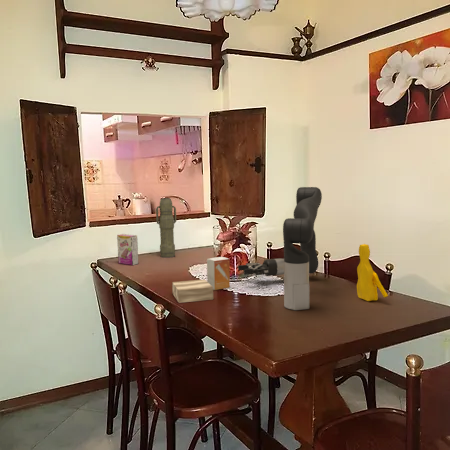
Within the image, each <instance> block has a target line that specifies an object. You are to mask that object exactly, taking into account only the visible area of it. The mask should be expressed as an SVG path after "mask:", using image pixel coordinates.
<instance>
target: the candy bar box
mask: <svg viewBox="0 0 450 450" xmlns="http://www.w3.org/2000/svg"><path fill="white" fill-rule="evenodd" d="M116 239H117V242H116V243H117V257H118V258H117V259H118V264H120V265H121V264H122V265H128V266H136V265H139V247H138V246H139V245H138V244H139V243H138V235H137V234H129V233H128V234H126V233H121V234H117V236H116Z"/></svg>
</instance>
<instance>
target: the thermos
mask: <svg viewBox="0 0 450 450" xmlns="http://www.w3.org/2000/svg"><path fill="white" fill-rule="evenodd" d="M155 214H156V215H155V216H156V217H155V218H156V224H157V225H159V227H158V228H159V230H160V231H159V232H160V245H159V253H160V258H163V259H164V258H165V259H167V258H174V257H176V244H175V238H174V236H175V235H174V234H175V232H174V228H175V224H176V223H177V208H176V206H175V205H173V201H172V198H169V197H162V198H160V200H159V205H158V206H156V208H155Z"/></svg>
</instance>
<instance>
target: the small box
mask: <svg viewBox="0 0 450 450" xmlns="http://www.w3.org/2000/svg"><path fill="white" fill-rule="evenodd" d="M230 267H231V266H230V258H228V257H225V256H218V257H217V256H216V257H211V258H206V274H207V276H206V281H207V282H208V283H209V284H210V285H211V286H212V287H213V291H216V290H223V289H229V287H230V285H231V283H230V281H231V280H230V279H231V278H230V277H231V276H230V272H231V271H230ZM230 288H231V287H230Z"/></svg>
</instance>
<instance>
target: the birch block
mask: <svg viewBox="0 0 450 450" xmlns="http://www.w3.org/2000/svg"><path fill="white" fill-rule="evenodd" d="M171 284H172V285H171V286H172V287H171V288H172V290H171V291H172V295H173V296H174V298H175V299H176V301H177V302H178V303H179V304H181V303H189V302H191V303H192V302H200V301H201V302H202V301H212V300H214V290H213V287H212V286H211V285H210V284H209V283H208V282H207V279H205V278H204V279H203V278H202V279H194V280H182V281H172V282H171Z"/></svg>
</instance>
